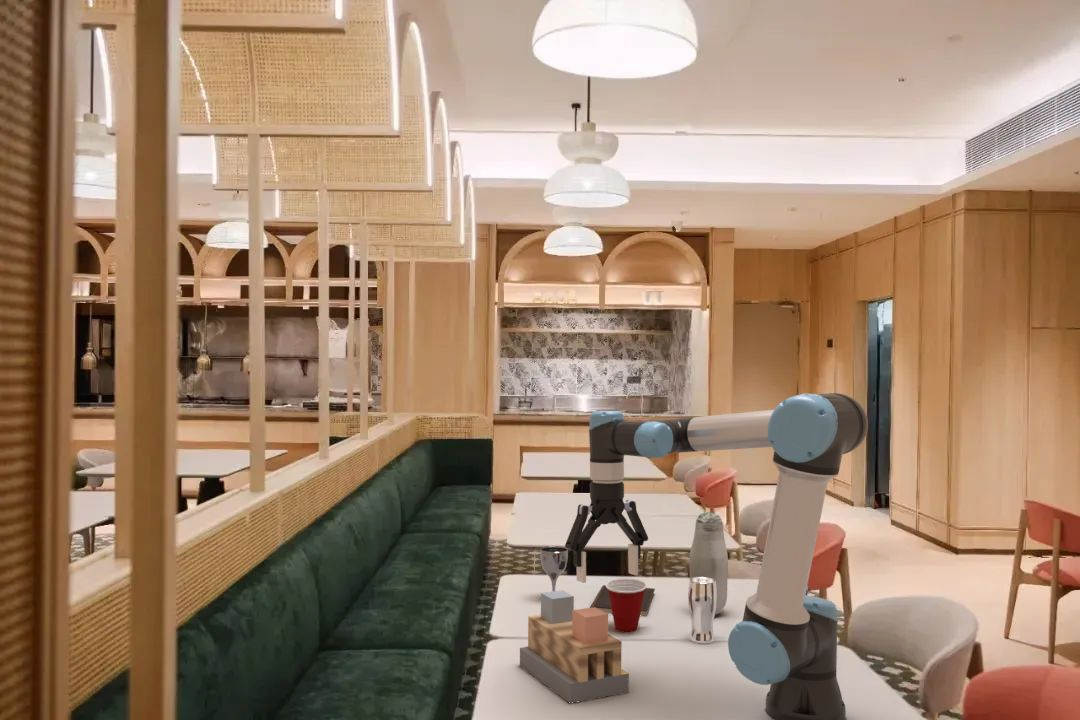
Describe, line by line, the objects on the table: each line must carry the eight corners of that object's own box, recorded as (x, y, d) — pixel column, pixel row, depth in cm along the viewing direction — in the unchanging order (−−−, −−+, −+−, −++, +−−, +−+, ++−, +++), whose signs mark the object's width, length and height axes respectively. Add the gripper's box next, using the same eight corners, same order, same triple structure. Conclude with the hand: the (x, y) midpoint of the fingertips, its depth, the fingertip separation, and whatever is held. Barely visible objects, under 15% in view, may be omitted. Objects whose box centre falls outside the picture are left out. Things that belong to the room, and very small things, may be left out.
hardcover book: (654, 596, 255) (654, 588, 255) (647, 618, 233) (647, 610, 233) (601, 592, 259) (601, 584, 259) (589, 614, 236) (589, 606, 236)
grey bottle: (683, 610, 239) (684, 510, 239) (715, 607, 242) (716, 508, 242) (700, 620, 230) (701, 516, 229) (733, 617, 233) (734, 514, 233)
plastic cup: (598, 632, 219) (598, 585, 219) (614, 620, 229) (615, 575, 229) (637, 638, 214) (638, 590, 214) (652, 627, 224) (653, 581, 224)
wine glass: (535, 598, 249) (535, 547, 249) (559, 595, 252) (560, 545, 252) (547, 606, 242) (547, 553, 242) (572, 603, 245) (572, 550, 245)
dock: (632, 691, 180) (632, 672, 180) (570, 703, 173) (570, 683, 173) (577, 655, 201) (577, 638, 201) (519, 665, 195) (519, 647, 195)
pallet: (621, 674, 178) (621, 641, 178) (579, 682, 174) (579, 648, 174) (566, 640, 200) (566, 610, 200) (528, 646, 195) (528, 616, 195)
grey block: (573, 620, 192) (573, 596, 192) (551, 623, 190) (552, 599, 190) (562, 614, 197) (562, 590, 197) (540, 617, 195) (541, 592, 195)
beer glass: (716, 645, 210) (716, 584, 210) (687, 643, 211) (688, 582, 211) (716, 636, 217) (716, 577, 217) (688, 634, 218) (689, 575, 218)
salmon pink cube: (607, 640, 179) (608, 614, 179) (585, 644, 177) (585, 617, 177) (594, 632, 184) (594, 607, 184) (572, 636, 182) (572, 610, 182)
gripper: (643, 475, 198) (644, 567, 197) (549, 482, 186) (550, 580, 186) (662, 479, 191) (663, 574, 191) (566, 486, 179) (567, 588, 179)
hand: (607, 577), depth 188 cm, fingers open, 13 cm apart
